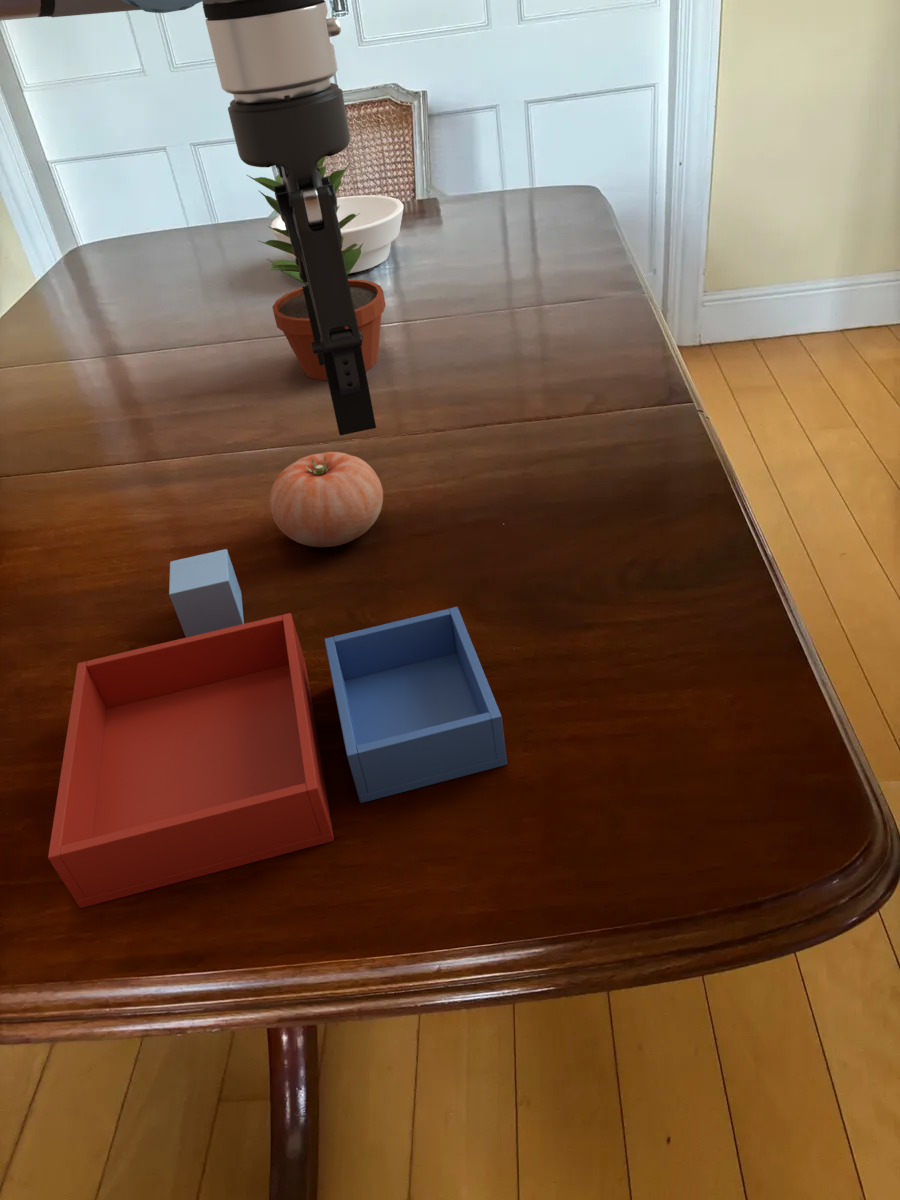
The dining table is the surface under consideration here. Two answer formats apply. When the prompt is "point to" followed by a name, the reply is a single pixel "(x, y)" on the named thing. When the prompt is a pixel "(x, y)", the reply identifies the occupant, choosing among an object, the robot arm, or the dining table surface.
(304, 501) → the tomato
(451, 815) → the dining table surface
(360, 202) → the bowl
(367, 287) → the potted plant
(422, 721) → the blue bin
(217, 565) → the blue block
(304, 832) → the red bin
